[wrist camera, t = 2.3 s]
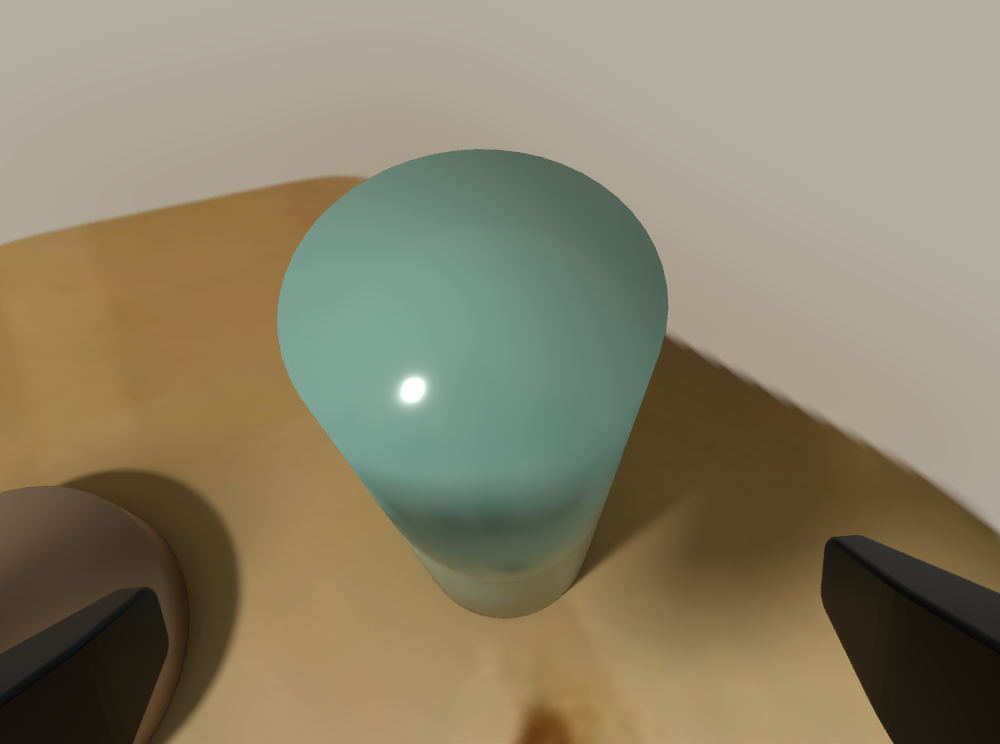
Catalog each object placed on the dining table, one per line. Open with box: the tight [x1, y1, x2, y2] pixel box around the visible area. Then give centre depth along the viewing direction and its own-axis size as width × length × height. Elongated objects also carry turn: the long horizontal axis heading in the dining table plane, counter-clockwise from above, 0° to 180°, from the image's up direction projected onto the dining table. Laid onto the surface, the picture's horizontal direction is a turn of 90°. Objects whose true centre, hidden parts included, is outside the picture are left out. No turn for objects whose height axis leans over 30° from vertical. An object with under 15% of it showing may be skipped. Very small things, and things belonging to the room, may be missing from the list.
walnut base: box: [0, 486, 189, 744], centre depth 18 cm, size 9×9×2 cm
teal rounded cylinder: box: [277, 149, 668, 619], centre depth 14 cm, size 5×5×12 cm
